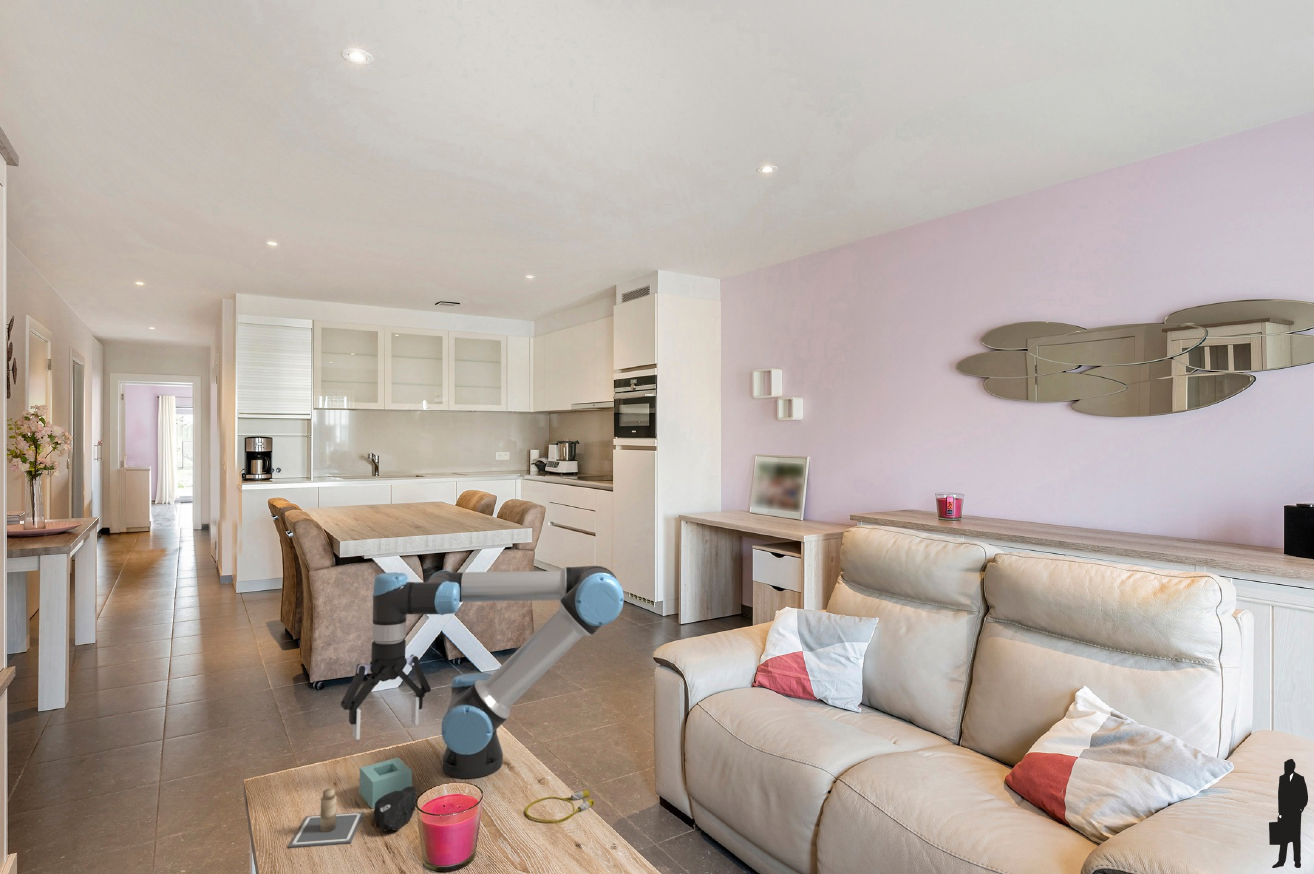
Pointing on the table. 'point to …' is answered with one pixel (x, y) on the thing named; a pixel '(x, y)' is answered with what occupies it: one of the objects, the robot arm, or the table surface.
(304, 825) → the mat
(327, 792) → the post
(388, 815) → the rock
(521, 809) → the table surface
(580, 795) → the extension cord
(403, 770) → the block with square hole
